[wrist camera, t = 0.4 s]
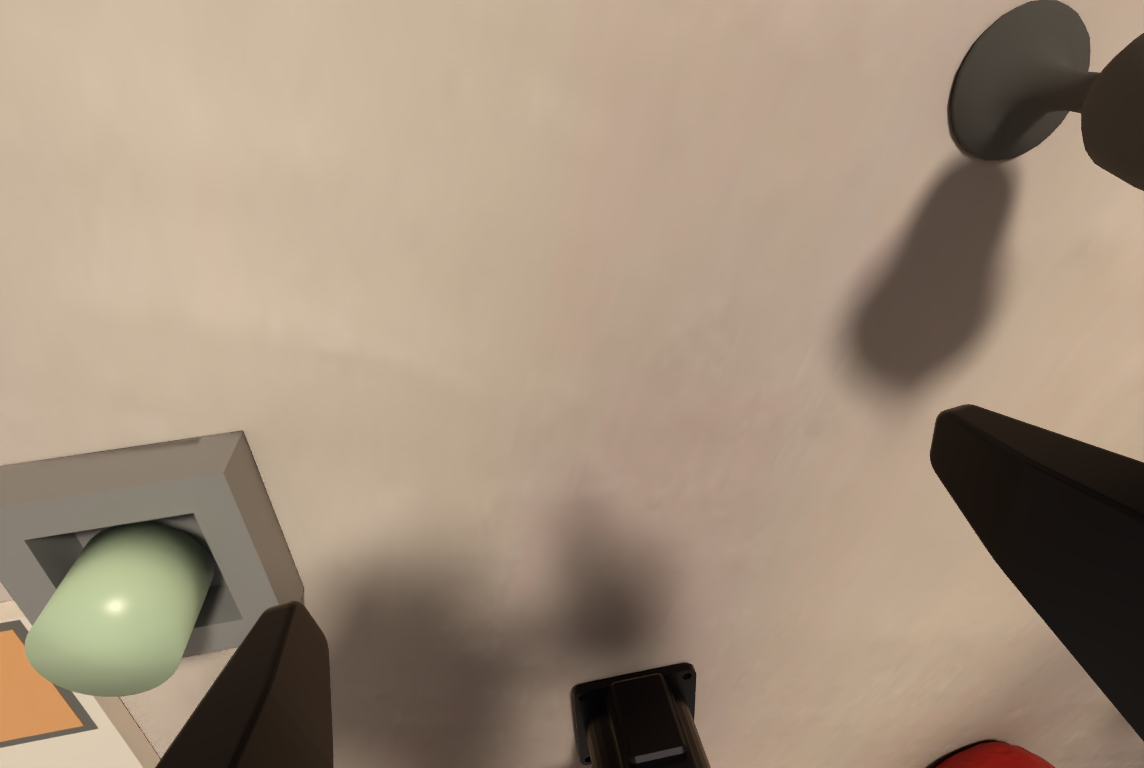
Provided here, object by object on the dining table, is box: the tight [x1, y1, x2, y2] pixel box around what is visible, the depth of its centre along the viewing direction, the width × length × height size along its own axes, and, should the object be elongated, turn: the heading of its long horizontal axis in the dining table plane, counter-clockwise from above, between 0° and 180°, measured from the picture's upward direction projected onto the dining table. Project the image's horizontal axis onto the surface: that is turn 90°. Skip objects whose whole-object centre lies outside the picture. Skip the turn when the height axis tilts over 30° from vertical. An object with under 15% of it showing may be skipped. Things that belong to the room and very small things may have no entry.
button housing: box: [0, 431, 304, 658], centre depth 24 cm, size 8×8×2 cm
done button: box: [25, 522, 214, 697], centre depth 22 cm, size 4×4×4 cm
